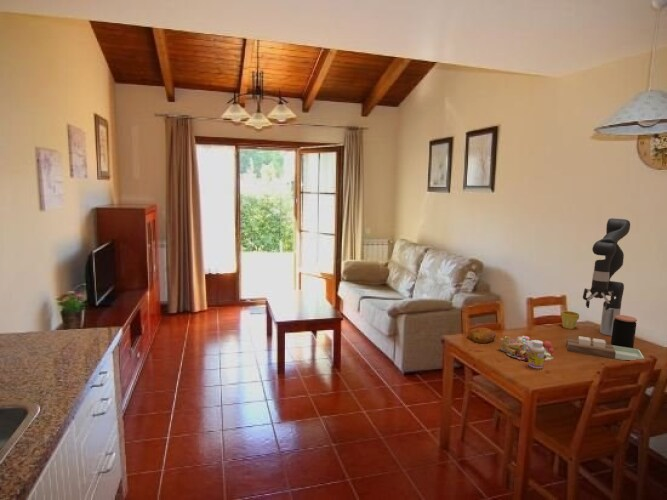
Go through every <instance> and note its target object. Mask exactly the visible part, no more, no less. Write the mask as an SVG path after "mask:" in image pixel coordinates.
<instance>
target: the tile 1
mask: <svg viewBox="0 0 667 500" xmlns="http://www.w3.org/2000/svg"><path fill="white" fill-rule="evenodd" d="M577 339H578V343H579V344H581V345H587V346H590V344H591V341H592V340H591V337H587V336H586V337H585V336H582V335H581V336H580V335H578V338H577Z"/></svg>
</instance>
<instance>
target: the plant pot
mask: <svg viewBox="0 0 667 500" xmlns="http://www.w3.org/2000/svg"><path fill="white" fill-rule="evenodd" d="M560 317H561V324H562V327H563V328H565V329H568V330H574V329H575V327H576V324H577V322H578V321H579V319H580V313H578V312H575V311H570V310H561V312H560Z"/></svg>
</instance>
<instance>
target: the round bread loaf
mask: <svg viewBox="0 0 667 500" xmlns="http://www.w3.org/2000/svg"><path fill="white" fill-rule="evenodd" d="M468 339H469V340H470V341H473V342H476V343H478V344H486V343H490V342H492V341H494V340H495V339H496V333H495V331H493V330H492V329H490V328H488V327H476V328H472V329H470V330H469V331H468Z"/></svg>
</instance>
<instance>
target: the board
mask: <svg viewBox="0 0 667 500" xmlns="http://www.w3.org/2000/svg"><path fill="white" fill-rule="evenodd" d="M592 342H593V340H591V344H590V346H587V345H581V344H579V343H578V338H574V337H566V348H567V352H573V353H577V354H583V355H591V356H595V357H596V356H597V357H601V358H602V357H603V358H608V359H615V354H616V352H615V350H614V348H613V346H612V344H611V343H607V342H606V346H605V348H600V347H593V344H592ZM615 360H616V359H615Z"/></svg>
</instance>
